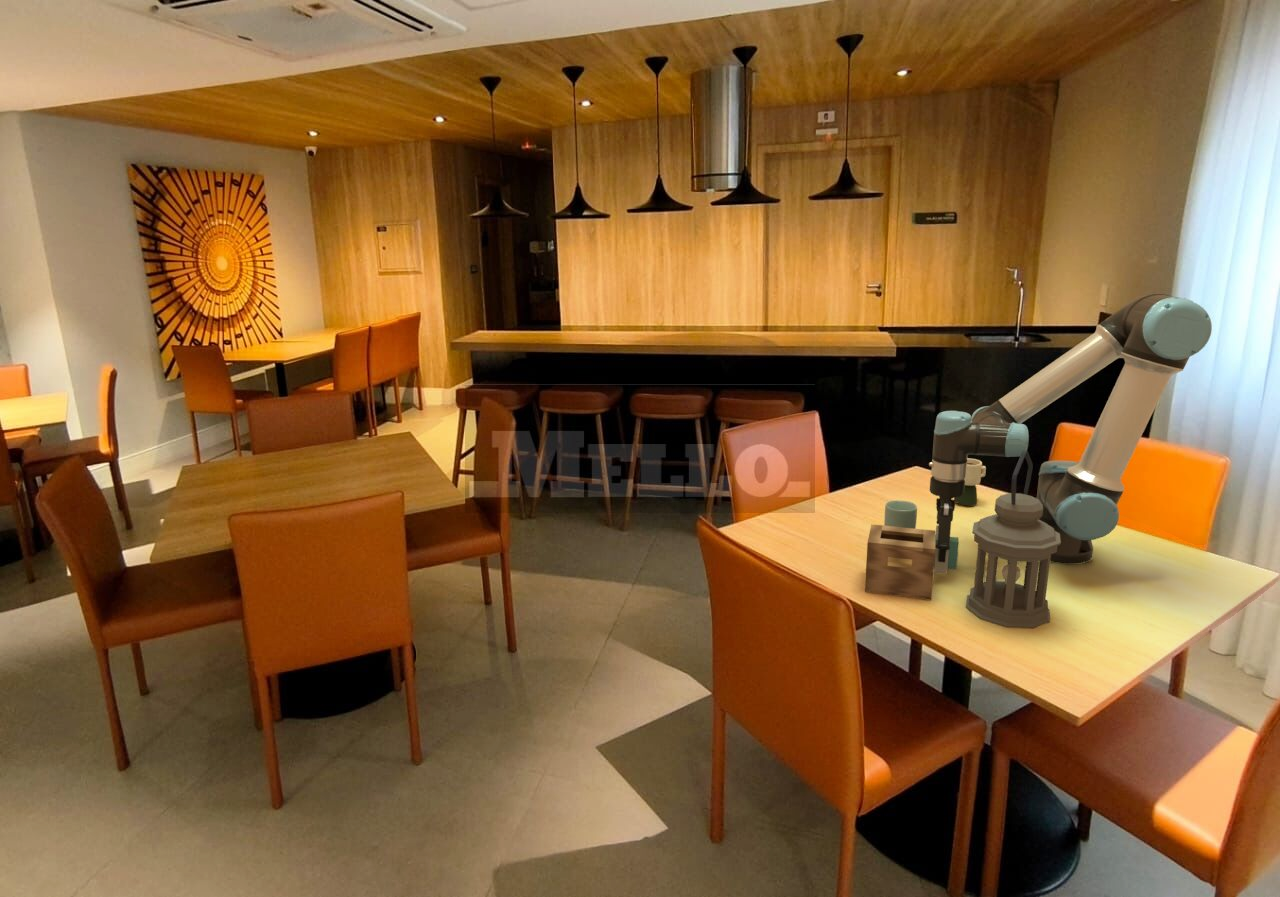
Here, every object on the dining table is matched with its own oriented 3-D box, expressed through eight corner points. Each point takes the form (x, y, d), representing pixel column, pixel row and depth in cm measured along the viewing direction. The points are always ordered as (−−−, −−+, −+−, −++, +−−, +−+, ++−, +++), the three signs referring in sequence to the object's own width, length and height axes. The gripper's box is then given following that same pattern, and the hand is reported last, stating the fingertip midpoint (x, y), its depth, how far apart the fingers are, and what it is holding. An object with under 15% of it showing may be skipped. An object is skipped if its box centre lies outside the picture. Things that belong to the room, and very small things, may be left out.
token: (955, 564, 181) (958, 537, 180) (956, 569, 179) (958, 542, 177) (925, 560, 184) (927, 534, 182) (924, 565, 181) (927, 539, 179)
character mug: (975, 498, 224) (979, 456, 221) (989, 506, 217) (993, 463, 214) (941, 501, 223) (944, 459, 219) (954, 509, 216) (958, 466, 212)
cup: (916, 548, 191) (919, 511, 188) (884, 546, 193) (887, 510, 190) (912, 536, 198) (915, 500, 196) (881, 535, 200) (883, 499, 197)
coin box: (931, 578, 174) (935, 530, 171) (931, 600, 164) (935, 549, 161) (868, 571, 179) (871, 524, 176) (864, 591, 169) (867, 542, 166)
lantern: (973, 584, 171) (988, 436, 161) (1056, 602, 162) (1077, 446, 152) (955, 615, 158) (970, 455, 148) (1045, 637, 148) (1067, 468, 139)
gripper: (930, 461, 188) (924, 540, 194) (930, 493, 165) (922, 581, 171) (963, 463, 185) (955, 543, 191) (967, 496, 163) (958, 585, 169)
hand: (940, 561), depth 181 cm, fingers open, 13 cm apart
